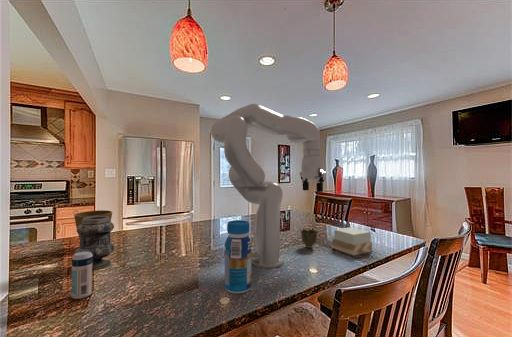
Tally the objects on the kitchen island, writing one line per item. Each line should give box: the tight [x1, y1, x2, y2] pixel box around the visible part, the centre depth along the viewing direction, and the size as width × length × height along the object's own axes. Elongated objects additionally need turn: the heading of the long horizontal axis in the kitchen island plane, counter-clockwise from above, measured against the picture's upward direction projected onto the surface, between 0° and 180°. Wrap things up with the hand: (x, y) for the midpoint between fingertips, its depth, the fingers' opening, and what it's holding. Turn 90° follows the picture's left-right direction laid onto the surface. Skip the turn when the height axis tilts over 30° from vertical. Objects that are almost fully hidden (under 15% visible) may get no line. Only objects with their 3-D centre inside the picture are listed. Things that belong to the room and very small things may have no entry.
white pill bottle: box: [70, 251, 93, 300], centre depth 69 cm, size 5×5×12 cm
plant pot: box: [73, 209, 113, 239], centre depth 114 cm, size 15×15×16 cm
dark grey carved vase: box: [74, 216, 115, 271], centre depth 92 cm, size 12×12×18 cm
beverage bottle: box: [223, 219, 253, 295], centre depth 75 cm, size 8×8×20 cm
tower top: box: [333, 226, 372, 245], centre depth 113 cm, size 11×11×4 cm
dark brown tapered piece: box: [300, 228, 318, 250], centre depth 115 cm, size 8×7×8 cm
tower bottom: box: [332, 238, 373, 257], centre depth 113 cm, size 12×12×4 cm
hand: (312, 191), depth 113 cm, fingers open, 9 cm apart
